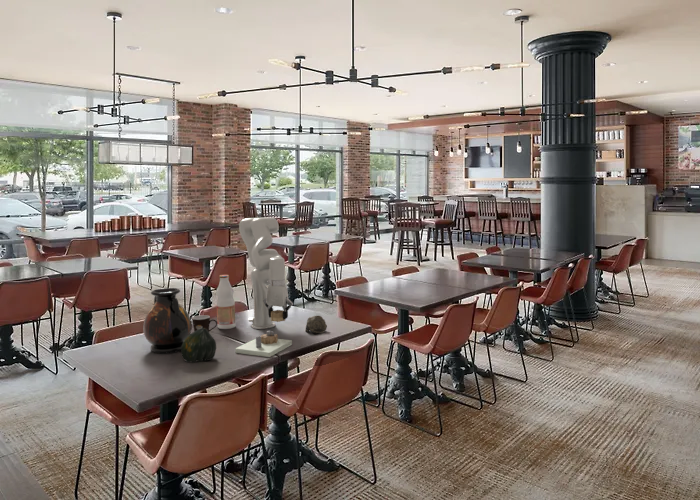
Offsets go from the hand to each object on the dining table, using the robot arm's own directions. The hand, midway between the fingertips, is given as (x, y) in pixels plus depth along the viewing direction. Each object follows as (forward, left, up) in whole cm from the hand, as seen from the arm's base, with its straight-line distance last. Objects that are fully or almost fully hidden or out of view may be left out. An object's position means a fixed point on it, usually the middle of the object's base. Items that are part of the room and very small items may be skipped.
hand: (278, 317), depth 276 cm
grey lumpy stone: (+12, +16, -11) cm, 23 cm away
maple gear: (0, 0, -1) cm, 1 cm away
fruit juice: (-37, +8, -11) cm, 40 cm away
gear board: (+3, -18, -10) cm, 21 cm away
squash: (-15, -42, -11) cm, 46 cm away
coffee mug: (-36, -12, -11) cm, 40 cm away
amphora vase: (-39, -34, -11) cm, 53 cm away
